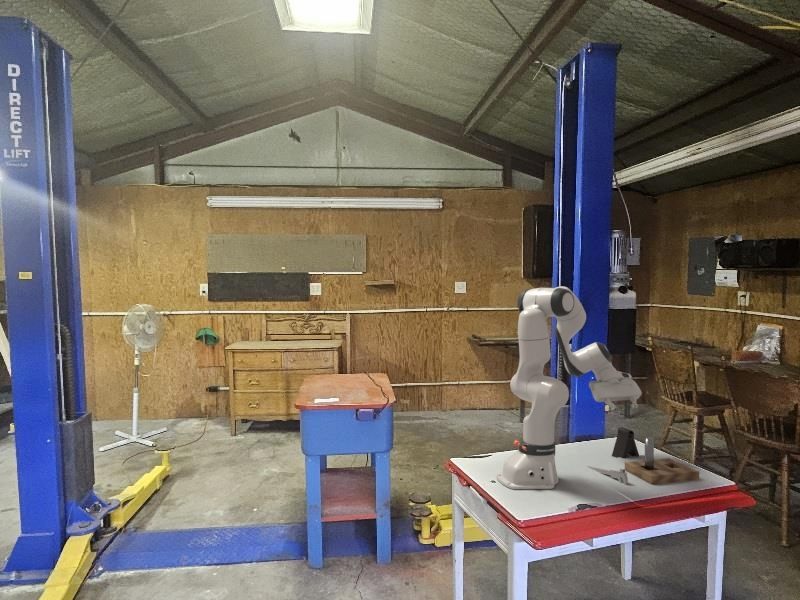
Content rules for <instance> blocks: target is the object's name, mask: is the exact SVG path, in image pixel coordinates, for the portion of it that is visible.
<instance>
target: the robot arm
mask: <svg viewBox="0 0 800 600" xmlns="http://www.w3.org/2000/svg"><path fill="white" fill-rule="evenodd" d="M517 309H518V311H519V315H518V322H517V335H518V336H517V338H518V351H519V361H518V367H517V371H516V373H515V374H514V375H513V376H512V377H511V380H510V383H509V386H510V391H511V393H512V394H513V395H514V396H515V397H517V398H519V399H520V400H522V401H526V402H528V403H531V409H530V413H529V414H527V415H526V416H525V417H524V418H523V420H522V431H523V432H522V434H523V436H522V439H521V442H520V441H518V440H516V439H515V440H514V441H513V445H514V446H515V447H517V448H518V450H517V451H515V452H514V453H513V454H512V455H511V456H509V457H508V458H507V459H505V461H504V463H503V467H502V471H499V472H497V473H496V478H497V481H498V482H500V484H502V485H503V486H505V487H506V488H508V489H511V490H539V489H540V490H544V489H545V490H552V489H554V488H555V485H557V484H558V483H559V482H560V479H559V476H558V471H557V465H556V459H555V458H556V457H555V456H556V441H555V422H556V417H557V415H558V413H559V410H561V408H563V407H564V406H566V404H567V402H568V400H569V397H570V391H569V388H568V386H567V384H565V382H564V381H561V380H560V379H558V378H556V377H552V376H547V375H544V368H545V364H547V363H548V362H549V361H550V360H551V358H552V357H551V356H552V355H551V343H550V331H549V326H548V322H547V320H548V318H554V317H555V319H556V326H555V327H554V334H555V339H556V341H557V344H558V347H559V350H560V353H561V357H562V358H563V364H564V368H565V370H566V371H567V373H568V374H569V375H570V376H572V377H577V378H580V377H582V376H583V375H585V374H586V373H589V372H591V371H592V372H593V374H594V376H595V379H596V380H590V381H589V382H588V387H589V389H590V391H591V394H592V398H593V399H594V401H595V402H597V403H602V402H603V403H605V405H606V406H609V408H610V409H611V411H616V410H617V409H618V407H617V405H616V404H614V403H613V402H615V401H616V402H618V401H630V402H632V404H631V405H630V406H631V407H632V409H633V410H634V409H637V408H638V407H639V405H638V403H637V400H638V399H640V397H641V396H642V390H641V389H640V388H641V387H639V386H638V385H639V384H638V383H636V381H635V380H633V379H632V378H633V377H632V375H631V374H630V373H627V372H622V371H619V370H617V369H616V368H615V367H614V366H613V364H612V360H613V355H612V354H611V353H610V351H609V350H608V347H607V345H606V344H604V343H603V342H598V341H597V342H596V341H595V342H593V343H590V344H589V345H586V346H585V347H583V348H580V349H578V350H577V351H573V352H572V350H571V346H570V344H569V343H570V341H571V339H572V338H573V337H574V336H575V335H576V334H577V333H578V332H580V330H581V329H583V327H584V325H585V323H586V321H587V313H586V311H585V309H584V307H583V305H582V303H581V302H580V299H579V298H578V297H577V296H576V295H575V293H574V291H572V290H571V289H570V288H569V287H567V286H561V285H560V286H557V287H538V288H537V287H536V288H528V289H523V291H521V292H519V295H518V297H517Z"/></svg>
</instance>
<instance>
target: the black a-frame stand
mask: <svg viewBox="0 0 800 600" xmlns="http://www.w3.org/2000/svg"><path fill="white" fill-rule="evenodd" d="M611 457H613V458H615V457H616V459H617V458H618V459H619V458H621V459H626V458H628V457H637V458H638V457H640V453H639V450H638V446H637V444H636V441H635V433H634V431H633V430H631V429H629V428H625V427H620V426H618V428H617V436H616V440H615V443H614V446H613V450H612V453H611Z"/></svg>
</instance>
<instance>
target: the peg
mask: <svg viewBox="0 0 800 600" xmlns="http://www.w3.org/2000/svg"><path fill="white" fill-rule="evenodd" d="M654 444H655V439H654V437H650V436H646V437H644V461H645V469H646V470H648V471H650V470H654V460H655V445H654Z"/></svg>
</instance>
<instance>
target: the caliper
mask: <svg viewBox="0 0 800 600" xmlns="http://www.w3.org/2000/svg"><path fill="white" fill-rule="evenodd" d="M586 467H587V468H588V469H591V470H592V471H593V470H594V471H595V472H597V473H599V474H602V475H603V474H604V475H608V476H610V478H611V479H612V478H613V479H618V482H619V483H621V484H623V485H624V486H628V484H629V482H628V481H629V480H628V479H629V478H628V475H627V474H628V472H626V471H625V468H619V470H616V469H605V468H601V467H595V466H591V465H586Z"/></svg>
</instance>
